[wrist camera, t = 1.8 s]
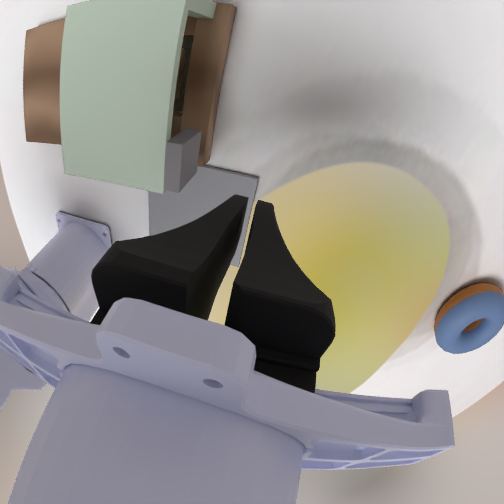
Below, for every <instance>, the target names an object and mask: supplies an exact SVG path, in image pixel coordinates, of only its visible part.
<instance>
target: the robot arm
mask: <svg viewBox="0 0 504 504" xmlns="http://www.w3.org/2000/svg"><path fill="white" fill-rule="evenodd" d="M248 199H249V197H245V196H241V195H237V194H235V195H233V196H231V197H230V198H229V199H227V200H226V201H225V202H223V203H222V204H220V205H219V206H217V207H216V208H214V209H213V210H211V211H210V212H208V213H206V214H205V215H203V216H201V217H199V218H198V219H196V220H194V221H192V222H190V223H187V224H185V225H183V226H180V227H178V228H175V229H172V230H169V231H166V232H163V233H159V234H156V235H152V236H147V237H143V238H137V239H131V240H124V241H116V242H115V243H114V244H113V245H112V244H111V237H110V230H109V228H108V226H106V225H103V224H99V223H96V222H92V221H89V220H86V219H82V218H79V217H75V216H72V215H68V214H65V213H61V212H58V213H56V219H57V223H58V228H59V232H58V233H57V234H56V235H55V236H54V237H53V238H52V239H51V240H50V241H49V242H48V244H47V245H46V246H45V247H44V248H43V249H42V250H41V251H40V252H39V253H38V254H37V255H36V256H35V257H34V258H33V260H32V261H31V262H30V263H29V264H28V265H27V266H26V267H25V268H24V269H23V270H22V271H21V272H20V273H19V271H18V269H17V268H14V269H13V268H9V269H6V268H4V267H3V266H1V265H0V411H1V409H2V407H3V405H4V404H5V402H6V400H7V398H8V396H9V395H10V393H11V391H12V390H41V389H42V388H43V387H45V386H46V384H47V383H49V384H50V385H51V386H53V387H55V390H54V392H53V394H52V396H51V398H50V400H49V402H48V405H47V406H46V408H45V411H44V413H43V415H42V417H41V419H40V421H39V424H38V426H37V428H36V430H35V432H34V435H33V437H32V440H31V442H30V444H29V447H28V449H27V451H26V454H25V457H24V459H23V462H22V464H21V467H20V470H19V472H18V475H17V478H16V481H15V484H14V487H13V490H12V493H11V496H10V499H9V502H8V504H296V498H297V493H298V486H299V479H300V473H301V469H309V470H339V469H361V468H375V467H387V466H396V465H407V464H414V463H417V462H419V461H422V460H425V459H427V458H429V457H432V456H434V455H437V454H439V453H441V452H443V451H446V450H448V449H450V448H452V447H453V446H454V445H455V443H454V432H453V423H452V414H451V407H450V400H449V394H448V391H447V390H425V391H422V392H420V393H418V394H417V395H416V396H414V397H413V398H412V399H402V398H387V397H375V396H365V395H356V394H347V393H340V392H332V391H325V390H319V389H315V384H316V371H318V370H319V367H320V358H321V356H322V355H323V354H324V352H325V351H326V350H327V349H328V347H329V346H330V344H331V343H332V341H333V339H334V337H335V317H334V311H333V306H332V302H331V299H329V298H328V297H327V296H326V295H325V294H324V293H323V292H322V291H321V290H319V289H318V288H317V287H316V286H315V285H314V284H313V283H312V282H311V281H310V279H309V278H307V276H306V275H305V274H304V273H303V271H301V269H300V267H299V266H298V265H297V264H296V262H295V261H294V259H293V258H292V256H291V254H290V252H289V251H288V249H287V247H286V245H285V243H284V240H283V238H282V236H281V233H280V230H279V227H278V224H277V221H276V217H275V213H274V206H273V204H272V203H268V202H264V201H261V200H258V202H257V204H256V207H255V211H254V215H253V220H252V224H251V229H250V233H249V237H248V241H247V246H246V250H245V255H244V258H243V260H242V263H241V265H240V268H239V270H238V273H237V275H236V277H235V280H234V282H233V287H232V292H231V297H230V302H229V306H228V311H227V316H226V321H225V325H221V324H218V323H214V322H211V321H208V318H209V315H210V312H211V309H212V305H213V302H214V299H215V296H216V294H217V291H218V289H219V287H220V285H221V283H222V281H223V278H224V276H225V274H226V272H227V270H228V268H229V265H230V263H231V261H232V259H233V257H234V255H235V252H236V249H237V246H238V243H239V240H240V236H241V232H242V228H243V223H244V218H245V213H246V209H247V204H248ZM105 233H106V234H105ZM18 273H19V274H18ZM98 306H99V310H98V311H97V313H96V314H95V316H94V318H93V319H92V321H91V322H88V321H89V320H90V319H91V317H92V316H93V314H94V313H95V311H96V309H97V308H98Z"/></svg>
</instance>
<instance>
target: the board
mask: <svg viewBox="0 0 504 504" xmlns="http://www.w3.org/2000/svg"><path fill="white" fill-rule="evenodd" d="M235 13H236V7H234V6H233V5H231V4H221V3H217V4H216V9H215V13H214V18H213V19H208V18H194V17H191V16H187V21H186V26H185V31H184V36H194V39H193V44H192V50H191V56H190V62H189V68H188V75H187V82H186V89H185V96H184V104H183V112H178V111H173V117H172V127H171V138H173V137H174V136H176V135H177V134H179V133H180V132H182V131H183V130H185V129H186V128H190V129H196V130H202V133H201V141H200V149H199V157H198V166H200V167H204V166H205V164H206V163H207V162H208V161H209V158H210V151H211V144H212V137H213V131H214V124H215V118H216V111H217V105H218V99H219V93H220V88H221V82H222V76H223V71H224V66H225V60H226V55H227V50H228V45H229V40H230V36H231V31H232V26H233V22H234V17H235ZM64 24H65V19H61V20H57V21H54V22H51V23H47V24H44V25H41V26H38V27H35V28H32V29H30V30H27V31H26V39H25V51H24V71H23V98H24V119H25V131H26V141H27V142H39V143H51V144H61V145H62V143H61V128H60V66H61V51H62V41H63V32H64Z"/></svg>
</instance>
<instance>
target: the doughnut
mask: <svg viewBox="0 0 504 504" xmlns="http://www.w3.org/2000/svg"><path fill="white" fill-rule="evenodd" d="M503 324H504V294H503V292H502V290H501V289H500V288H498V287H497V286H495V285H493V284H490V283H479V284H474V285H470V286H468V287H466V288H464V289H462V290H460V291H459V292H457V293H456V294H455V295H453V296H452V297H451V298H450V299H449V300H448V301H447V302H446V303H445V304H444V305H443V307H442V308H441V310H440V311H439V313H438V315H437V317H436V321H435V325H434V331H435V336H436V341H437V344H438V345H439V346H440V347H441V348H442V349H443V350H444V351H446V352H450V353H453V354H460V353H466V352H469V351H472V350H475V349H477V348H479V347H481V346H483V345H484V344H486V343H487V342H489V341H490V340H491V339H492V338H493V337H494V336H495V335H496V334H497V333H498V332H499V331H500V329H501V328H502V326H503Z"/></svg>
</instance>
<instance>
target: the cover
mask: <svg viewBox="0 0 504 504" xmlns="http://www.w3.org/2000/svg"><path fill="white" fill-rule="evenodd" d="M216 4H217V3H216V2H214V1H212V0H89V1H84V2H81V3H77V4H73V5H70V6H67V11H66V17H65V24H64V32H63V41H62V51H61V66H60V128H61V143H62V154H63V164H64V172H65V174H69V175H75V176H80V177H85V178H90V179H95V180H100V181H105V182H110V183H115V184H119V185H124V186H129V187H133V188H138V189H143V190H147V191H152V192H156V193H161V194H164V193H165V192H166V191H171V192H176V193H180V191H181V190H182V189H183V188H184V187H185V186H186V184H187V183H188V182H189V181H190V180H191V179H192V177H193V176H194V175H195V174H196V173H197V166H198V157H199V149H200V141H201V133H202V130H196V129H190V128H186V129H185V130H183V131H182V132H180V133H179V134H177V135H176V136H174V137H173V138H171V127H172V117H173V107H174V98H175V90H176V82H177V75H178V68H179V61H180V55H181V48H182V43H183V37H184V31H185V26H186V21H187V16H191V17H194V18H208V19H213V18H214V13H215V9H216Z"/></svg>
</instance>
